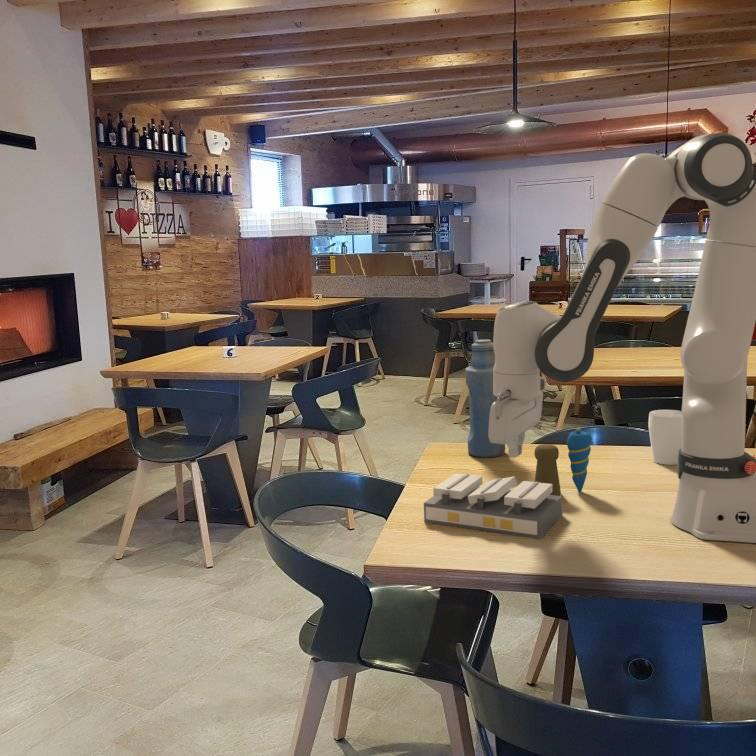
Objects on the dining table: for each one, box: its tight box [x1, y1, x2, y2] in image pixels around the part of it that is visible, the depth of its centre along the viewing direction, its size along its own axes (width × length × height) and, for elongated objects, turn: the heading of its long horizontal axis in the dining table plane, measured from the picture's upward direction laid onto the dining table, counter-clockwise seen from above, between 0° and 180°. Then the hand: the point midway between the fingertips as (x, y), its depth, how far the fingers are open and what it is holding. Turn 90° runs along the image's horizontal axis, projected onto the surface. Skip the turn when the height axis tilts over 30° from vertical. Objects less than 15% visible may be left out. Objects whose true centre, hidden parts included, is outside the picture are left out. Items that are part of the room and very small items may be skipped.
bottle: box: [464, 339, 506, 459], centre depth 207 cm, size 10×10×30 cm
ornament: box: [566, 425, 592, 493], centre depth 174 cm, size 5×5×15 cm
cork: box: [533, 443, 562, 496], centre depth 173 cm, size 6×6×11 cm
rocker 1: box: [468, 475, 517, 504], centre depth 160 cm, size 6×11×2 cm, turn 150°
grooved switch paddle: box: [432, 473, 483, 499], centre depth 163 cm, size 6×11×2 cm, turn 150°
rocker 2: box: [504, 480, 552, 509], centre depth 156 cm, size 6×11×2 cm, turn 150°
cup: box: [647, 409, 682, 466], centre depth 194 cm, size 9×9×12 cm
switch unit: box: [423, 485, 563, 540], centre depth 160 cm, size 24×14×6 cm, turn 60°
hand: (515, 455), depth 156 cm, fingers closed
